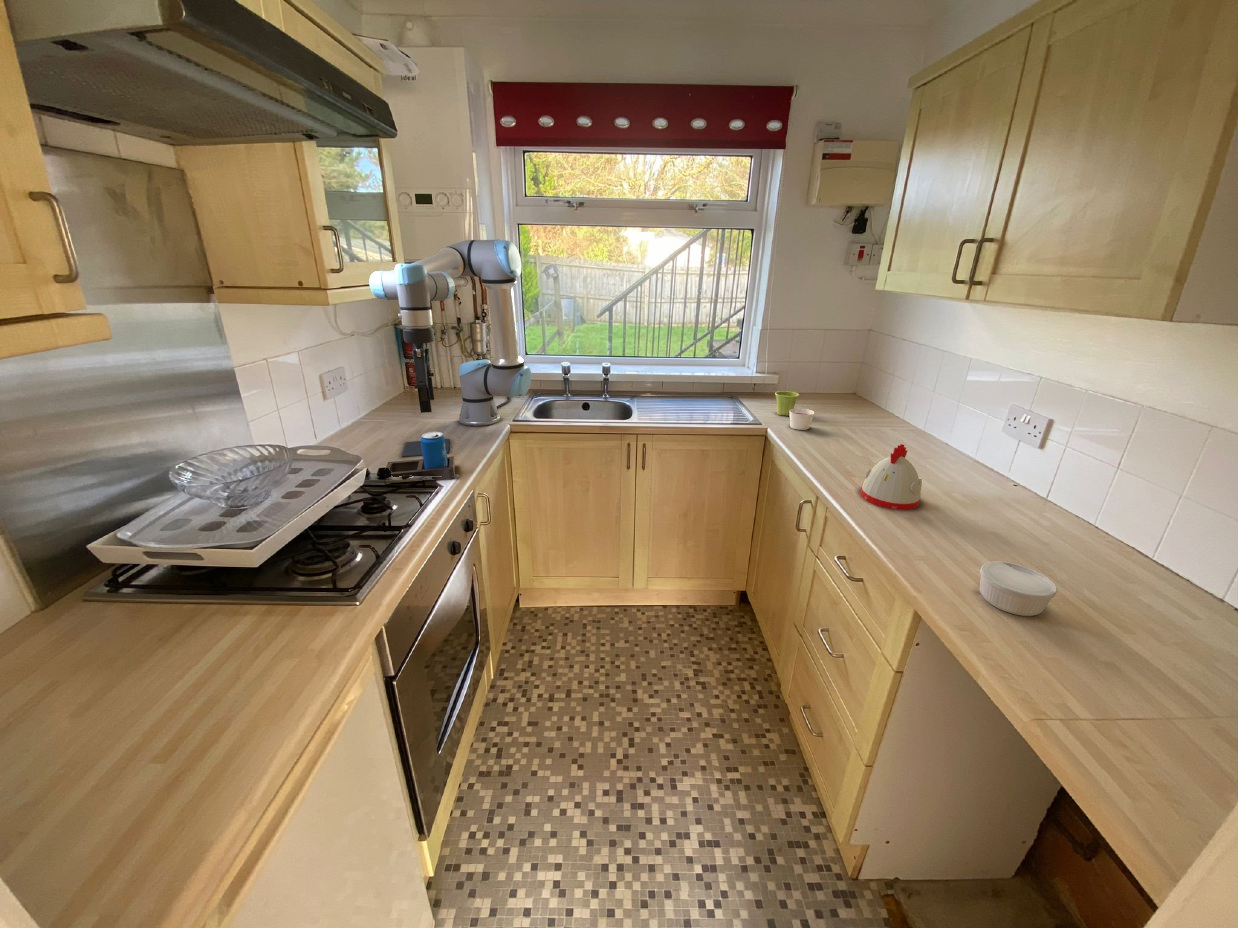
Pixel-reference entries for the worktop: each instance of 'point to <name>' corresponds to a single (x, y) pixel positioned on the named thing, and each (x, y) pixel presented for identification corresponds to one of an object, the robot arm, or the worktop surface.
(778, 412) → the plant pot
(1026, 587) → the ramekin
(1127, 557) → the worktop surface
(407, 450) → the mat
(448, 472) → the can caddy
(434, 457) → the beverage can
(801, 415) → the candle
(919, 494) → the kitchen timer
